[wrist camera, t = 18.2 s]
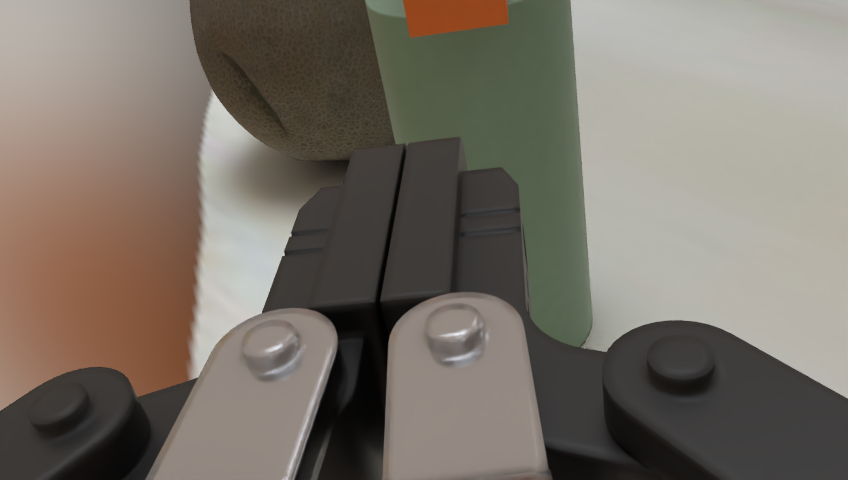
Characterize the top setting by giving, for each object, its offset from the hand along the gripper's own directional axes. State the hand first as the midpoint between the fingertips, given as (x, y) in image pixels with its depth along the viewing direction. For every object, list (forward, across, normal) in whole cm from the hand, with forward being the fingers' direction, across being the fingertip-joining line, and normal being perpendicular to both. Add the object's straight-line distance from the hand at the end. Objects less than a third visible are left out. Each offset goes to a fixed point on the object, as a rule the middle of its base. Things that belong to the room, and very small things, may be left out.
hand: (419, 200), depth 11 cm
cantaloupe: (+34, +9, +16) cm, 38 cm away
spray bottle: (+16, 0, +16) cm, 22 cm away
